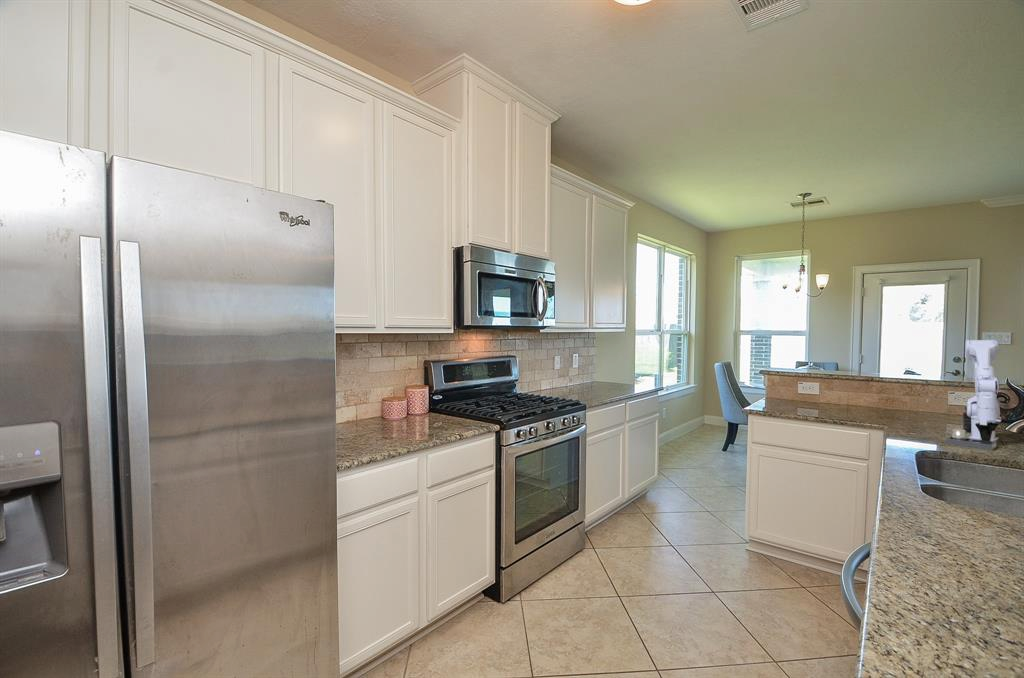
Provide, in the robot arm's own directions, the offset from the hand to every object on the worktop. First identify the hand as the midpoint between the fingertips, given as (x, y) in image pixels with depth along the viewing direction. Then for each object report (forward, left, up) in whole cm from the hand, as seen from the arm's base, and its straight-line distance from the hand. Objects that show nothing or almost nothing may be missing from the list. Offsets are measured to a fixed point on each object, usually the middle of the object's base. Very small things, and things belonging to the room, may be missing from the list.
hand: (987, 440), depth 186 cm
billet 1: (+10, -7, -1) cm, 12 cm away
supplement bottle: (-33, -9, -2) cm, 34 cm away
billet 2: (0, 0, -2) cm, 2 cm away
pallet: (+10, -3, -2) cm, 10 cm away
